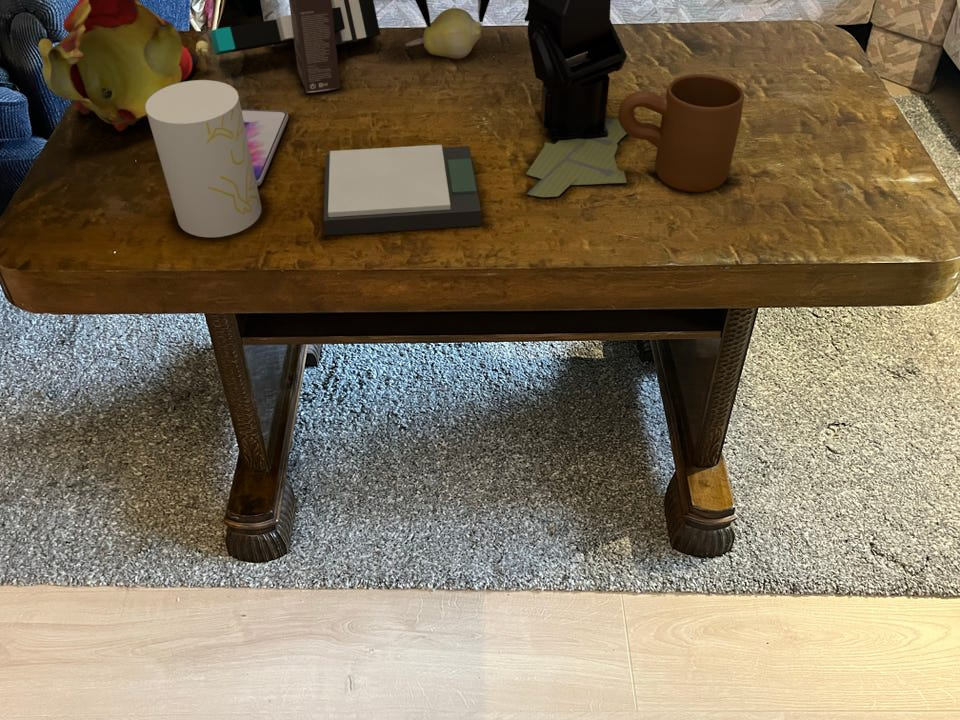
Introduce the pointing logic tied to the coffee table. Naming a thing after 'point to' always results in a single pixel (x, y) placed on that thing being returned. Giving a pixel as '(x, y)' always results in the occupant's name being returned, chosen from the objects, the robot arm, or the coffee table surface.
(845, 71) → the coffee table surface
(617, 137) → the map
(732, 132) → the mug
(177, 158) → the cup
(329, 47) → the box
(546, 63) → the robot arm
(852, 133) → the coffee table surface
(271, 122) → the smartphone
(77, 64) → the toy
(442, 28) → the fruit
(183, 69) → the toy figurine
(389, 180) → the scale
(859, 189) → the coffee table surface
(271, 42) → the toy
